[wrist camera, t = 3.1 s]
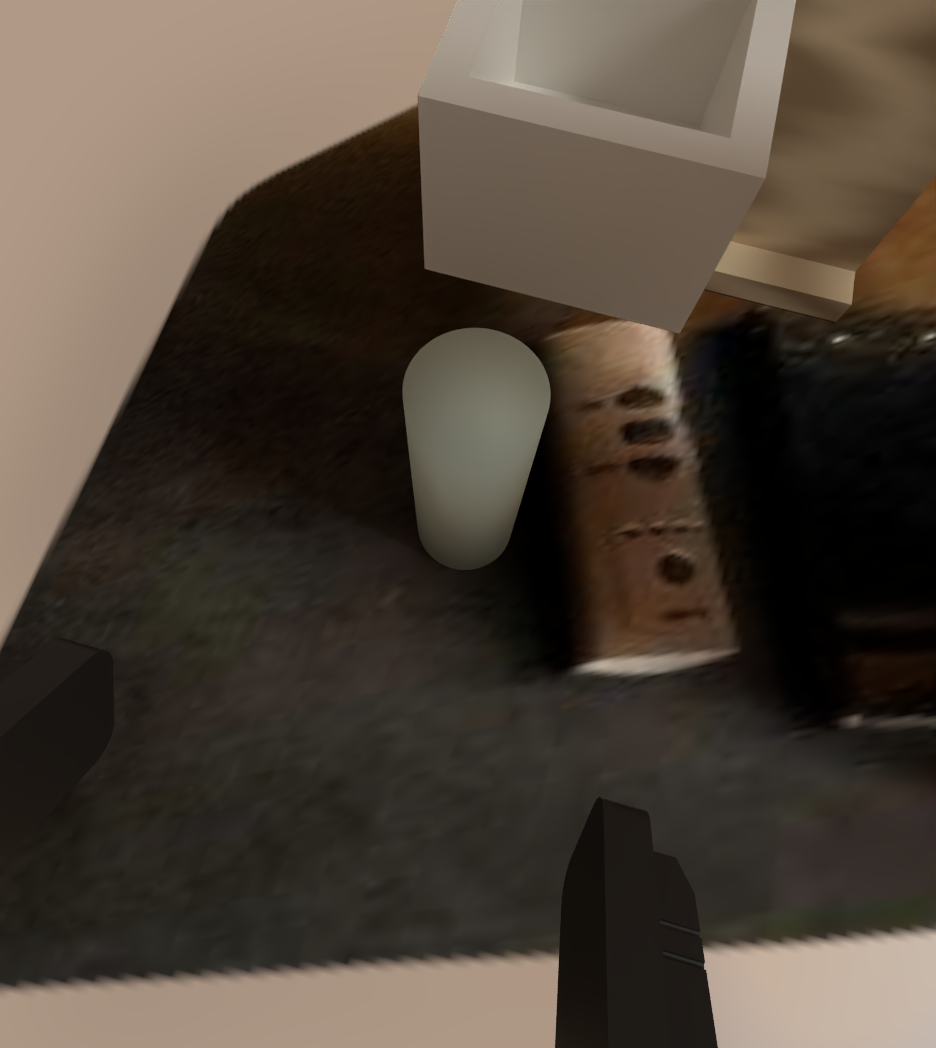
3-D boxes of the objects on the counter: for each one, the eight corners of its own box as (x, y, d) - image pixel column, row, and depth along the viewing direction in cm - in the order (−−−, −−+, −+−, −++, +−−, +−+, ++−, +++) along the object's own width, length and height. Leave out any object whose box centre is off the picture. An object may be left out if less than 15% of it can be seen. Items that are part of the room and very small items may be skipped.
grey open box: (722, 126, 25) (807, -67, 19) (679, 333, 22) (765, 178, 16) (496, 73, 25) (512, -132, 20) (424, 268, 22) (417, 95, 17)
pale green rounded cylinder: (521, 494, 26) (564, 348, 17) (498, 581, 25) (530, 475, 16) (432, 470, 27) (426, 312, 17) (405, 555, 25) (382, 436, 16)
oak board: (845, 242, 31) (1334, -388, 14) (835, 322, 29) (1369, -273, 12) (506, 160, 32) (578, -525, 15) (481, 233, 30) (529, -432, 13)
